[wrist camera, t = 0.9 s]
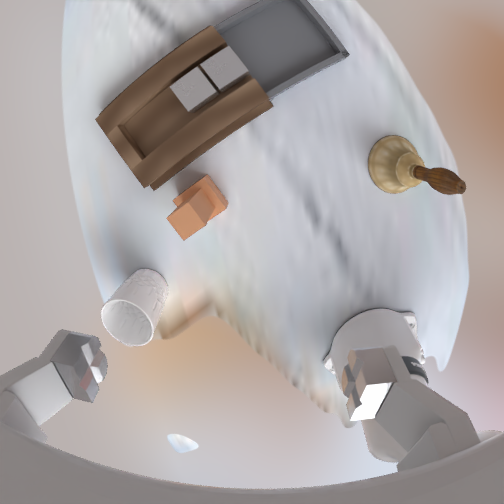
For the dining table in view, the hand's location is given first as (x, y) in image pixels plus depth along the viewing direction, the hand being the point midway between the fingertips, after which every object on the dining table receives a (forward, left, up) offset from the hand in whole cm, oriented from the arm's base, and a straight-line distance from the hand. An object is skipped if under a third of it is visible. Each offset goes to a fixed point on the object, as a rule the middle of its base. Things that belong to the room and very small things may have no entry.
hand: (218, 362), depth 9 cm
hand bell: (-9, -18, -32) cm, 38 cm away
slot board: (+13, +2, -32) cm, 35 cm away
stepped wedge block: (+1, +7, -32) cm, 33 cm away
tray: (+13, -14, -32) cm, 37 cm away
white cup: (-5, +23, -32) cm, 40 cm away
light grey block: (+13, -1, -31) cm, 33 cm away
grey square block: (+13, -6, -31) cm, 34 cm away
